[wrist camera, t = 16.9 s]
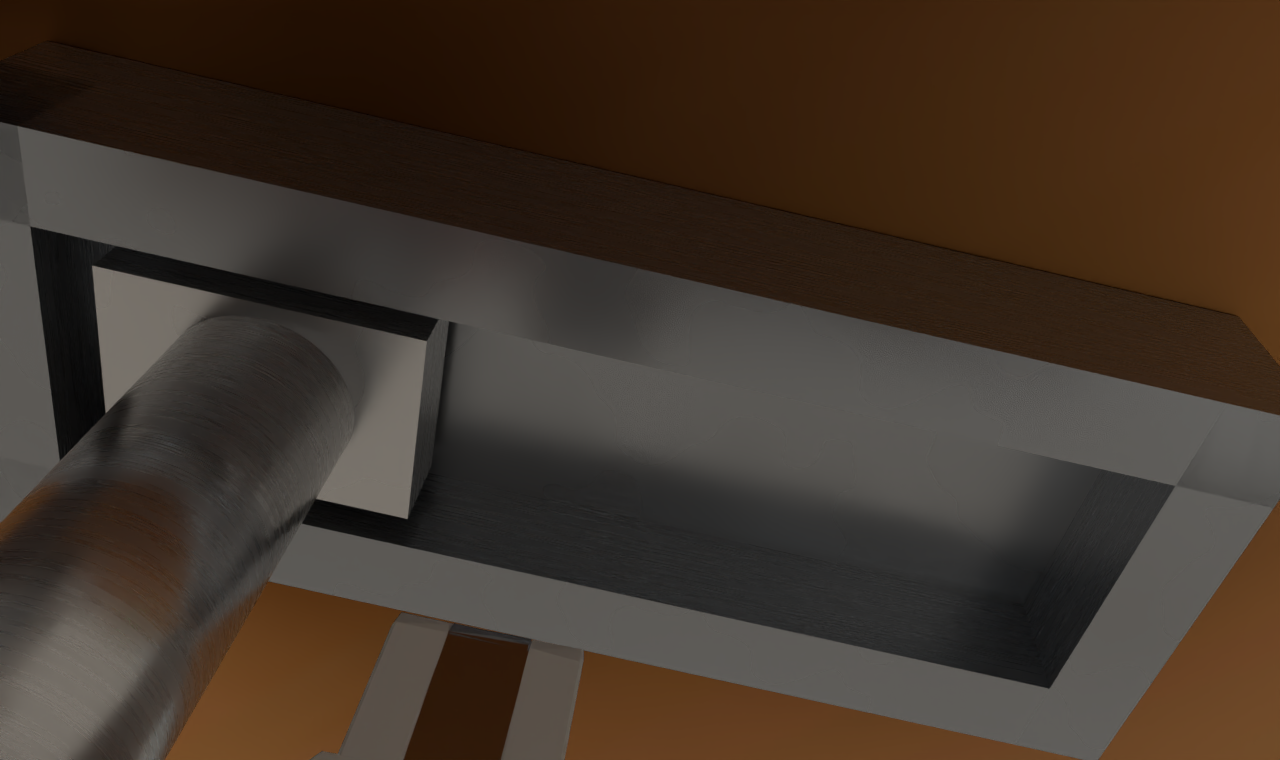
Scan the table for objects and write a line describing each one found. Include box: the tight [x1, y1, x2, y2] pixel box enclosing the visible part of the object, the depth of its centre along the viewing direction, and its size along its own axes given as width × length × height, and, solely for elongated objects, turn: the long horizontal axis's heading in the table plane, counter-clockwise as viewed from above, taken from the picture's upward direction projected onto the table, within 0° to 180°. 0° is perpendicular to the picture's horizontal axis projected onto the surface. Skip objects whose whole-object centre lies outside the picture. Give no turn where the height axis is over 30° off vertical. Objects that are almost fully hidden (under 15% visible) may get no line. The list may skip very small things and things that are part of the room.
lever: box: [0, 246, 449, 760], centre depth 10 cm, size 4×4×10 cm
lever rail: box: [0, 41, 1280, 760], centre depth 14 cm, size 6×16×3 cm, turn 78°
